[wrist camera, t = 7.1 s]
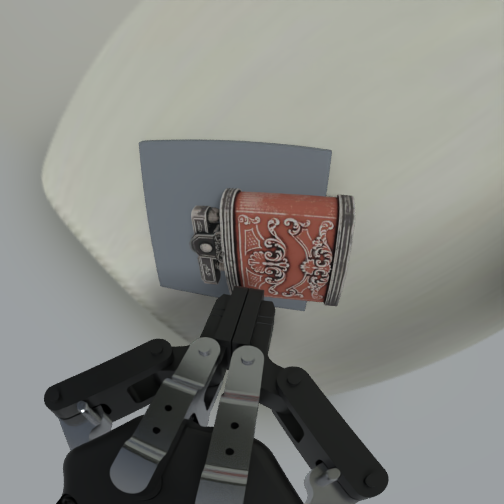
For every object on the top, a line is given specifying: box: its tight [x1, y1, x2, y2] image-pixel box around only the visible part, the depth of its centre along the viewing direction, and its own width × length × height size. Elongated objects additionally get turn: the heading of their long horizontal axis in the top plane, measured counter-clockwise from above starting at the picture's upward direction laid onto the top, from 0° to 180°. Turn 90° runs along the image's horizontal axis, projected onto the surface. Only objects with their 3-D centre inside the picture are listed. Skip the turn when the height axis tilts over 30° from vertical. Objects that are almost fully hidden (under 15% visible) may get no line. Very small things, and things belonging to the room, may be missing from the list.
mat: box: [139, 140, 332, 311], centre depth 20 cm, size 13×13×1 cm
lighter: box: [189, 188, 355, 306], centre depth 18 cm, size 8×3×10 cm
